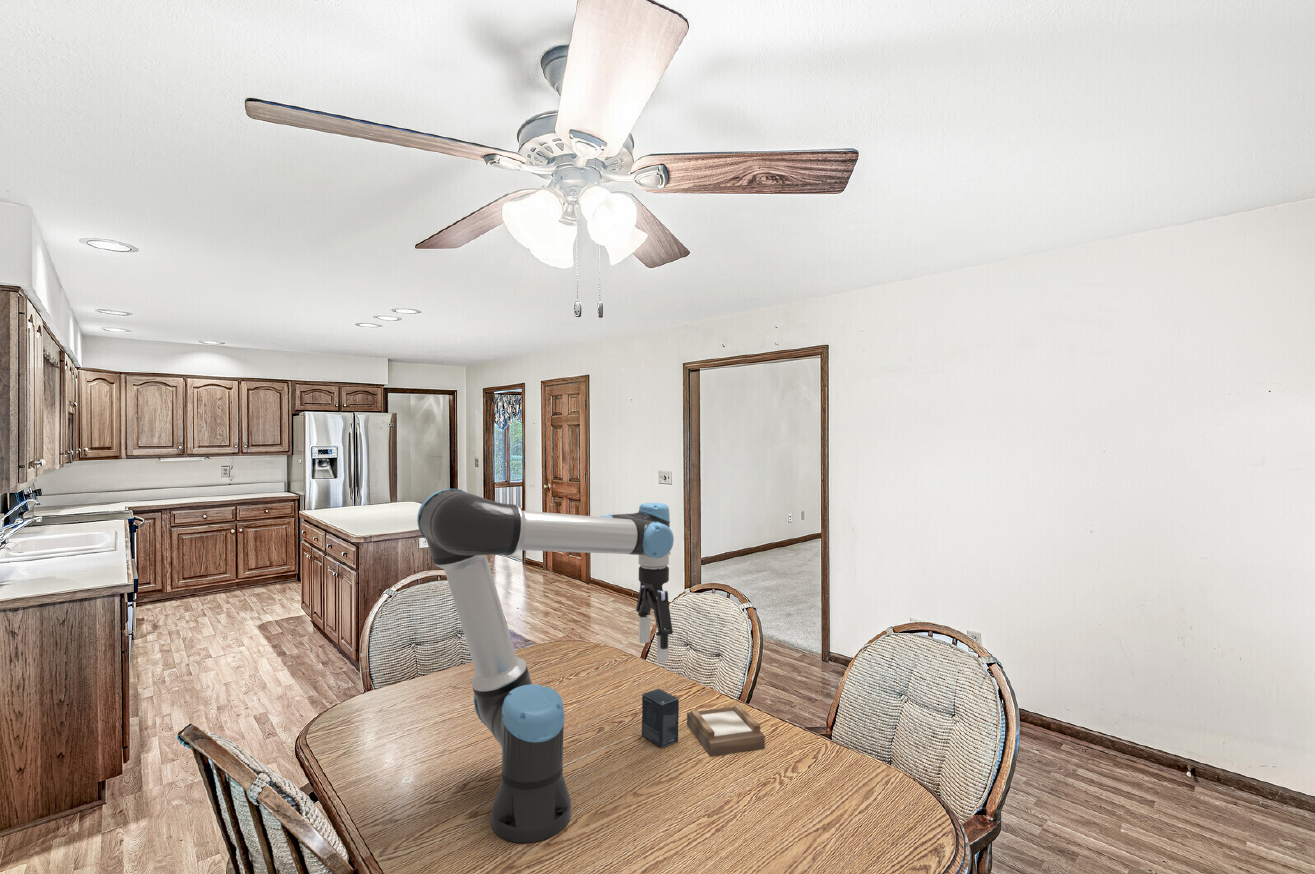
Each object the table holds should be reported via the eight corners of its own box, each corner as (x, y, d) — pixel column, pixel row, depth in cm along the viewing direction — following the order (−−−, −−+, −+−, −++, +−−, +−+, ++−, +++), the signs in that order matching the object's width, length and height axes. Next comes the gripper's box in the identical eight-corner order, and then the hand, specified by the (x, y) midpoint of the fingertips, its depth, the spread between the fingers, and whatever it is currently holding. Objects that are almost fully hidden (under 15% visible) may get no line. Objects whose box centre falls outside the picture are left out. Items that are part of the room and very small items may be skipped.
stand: (764, 747, 141) (764, 729, 141) (710, 756, 137) (710, 736, 137) (736, 717, 156) (736, 700, 156) (687, 724, 152) (687, 706, 152)
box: (678, 741, 144) (679, 698, 144) (661, 748, 140) (661, 704, 140) (658, 728, 150) (659, 687, 150) (640, 735, 146) (641, 693, 146)
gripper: (687, 576, 135) (686, 668, 135) (651, 555, 159) (650, 633, 159) (656, 578, 133) (655, 672, 133) (624, 556, 156) (624, 636, 156)
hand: (652, 651), depth 146 cm, fingers open, 13 cm apart
